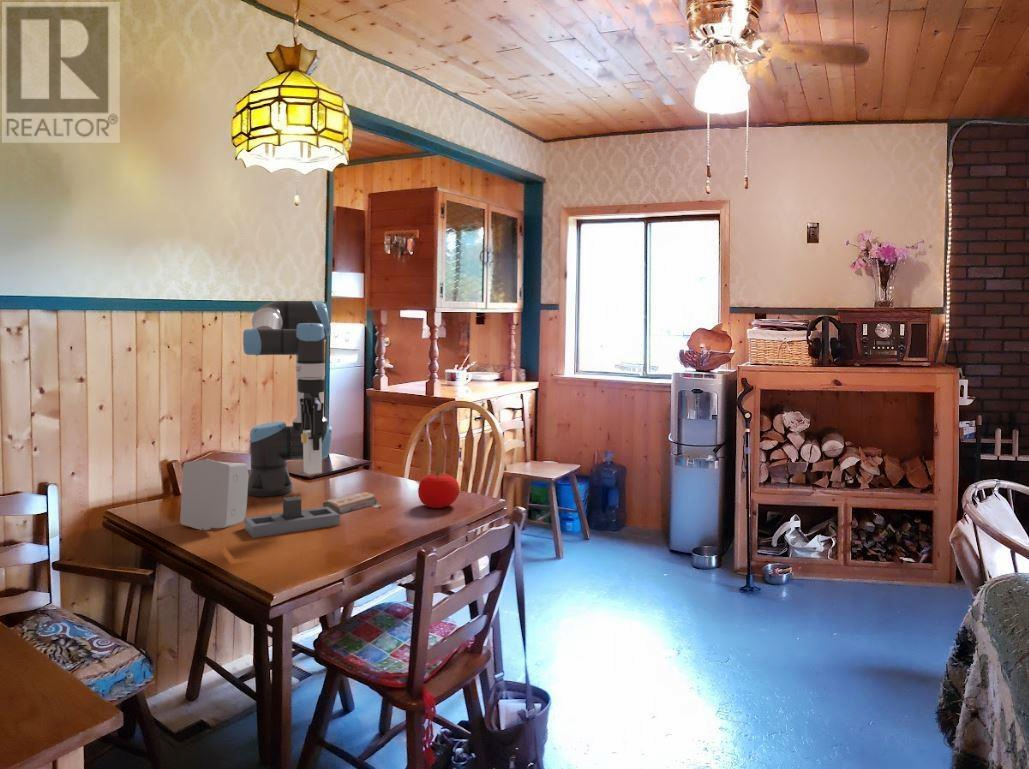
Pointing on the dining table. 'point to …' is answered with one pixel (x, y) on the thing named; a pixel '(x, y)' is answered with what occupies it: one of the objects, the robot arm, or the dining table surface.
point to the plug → (309, 466)
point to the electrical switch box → (213, 494)
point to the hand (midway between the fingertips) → (312, 459)
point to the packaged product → (351, 502)
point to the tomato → (438, 490)
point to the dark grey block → (291, 508)
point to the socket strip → (291, 522)
